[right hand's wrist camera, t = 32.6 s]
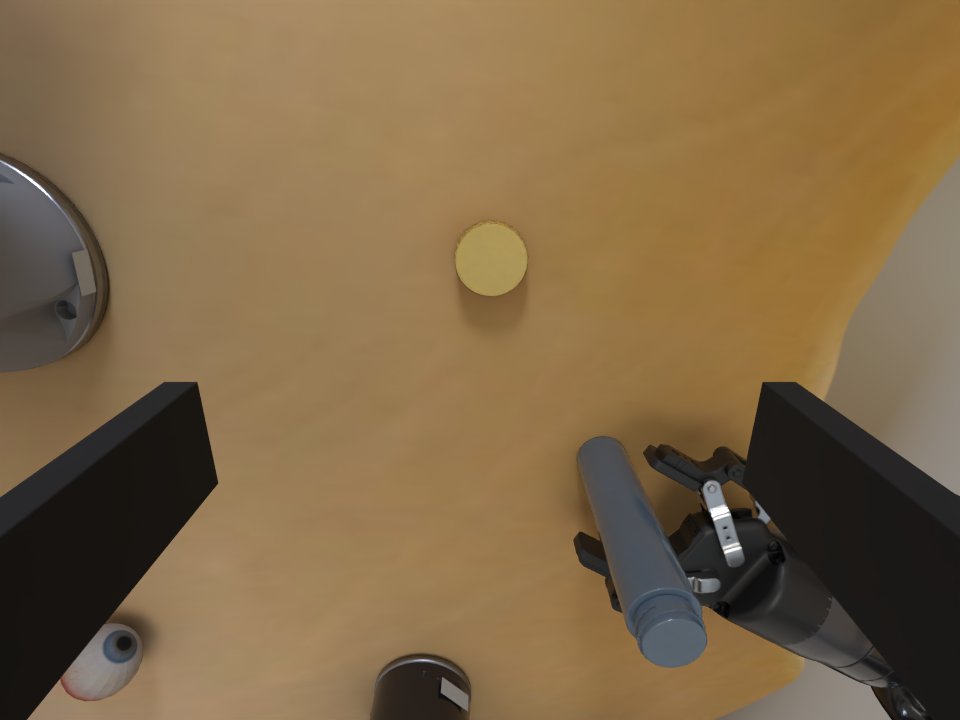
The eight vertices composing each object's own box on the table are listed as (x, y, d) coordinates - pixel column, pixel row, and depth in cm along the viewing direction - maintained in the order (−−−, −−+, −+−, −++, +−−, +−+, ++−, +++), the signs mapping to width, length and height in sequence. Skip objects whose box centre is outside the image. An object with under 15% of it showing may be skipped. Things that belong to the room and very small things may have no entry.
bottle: (566, 453, 43) (619, 638, 26) (609, 427, 42) (690, 600, 25) (593, 487, 44) (659, 684, 27) (635, 462, 43) (729, 650, 26)
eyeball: (171, 633, 50) (131, 693, 44) (132, 665, 51) (88, 727, 45) (118, 596, 48) (70, 653, 42) (79, 630, 50) (27, 690, 44)
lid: (531, 284, 38) (533, 290, 36) (463, 296, 38) (462, 303, 36) (520, 213, 36) (522, 216, 34) (449, 227, 36) (447, 230, 35)
